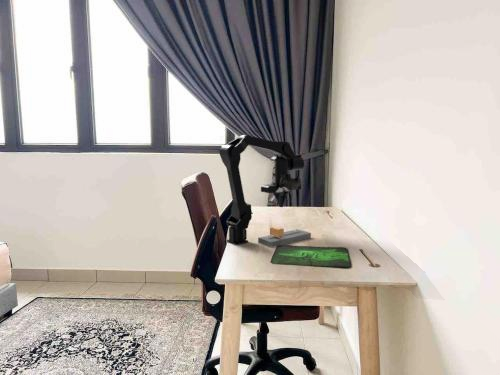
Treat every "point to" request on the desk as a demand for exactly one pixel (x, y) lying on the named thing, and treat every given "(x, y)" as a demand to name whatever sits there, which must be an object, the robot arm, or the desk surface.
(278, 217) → the desk surface
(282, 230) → the fader
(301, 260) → the mouse mat
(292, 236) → the grey flat panel
